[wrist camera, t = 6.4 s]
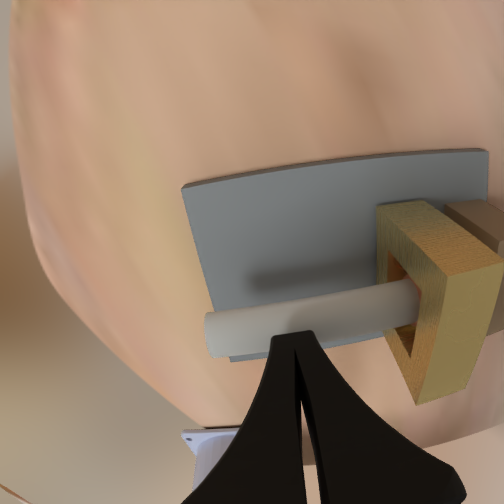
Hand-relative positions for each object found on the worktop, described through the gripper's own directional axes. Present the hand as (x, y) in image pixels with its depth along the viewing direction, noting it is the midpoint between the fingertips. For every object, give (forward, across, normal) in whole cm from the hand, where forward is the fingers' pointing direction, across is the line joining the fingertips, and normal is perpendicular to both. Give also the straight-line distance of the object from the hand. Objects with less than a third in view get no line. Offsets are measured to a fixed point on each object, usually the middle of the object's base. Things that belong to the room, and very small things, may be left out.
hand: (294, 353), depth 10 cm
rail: (+6, -4, 0) cm, 7 cm away
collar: (+5, -6, 0) cm, 7 cm away
